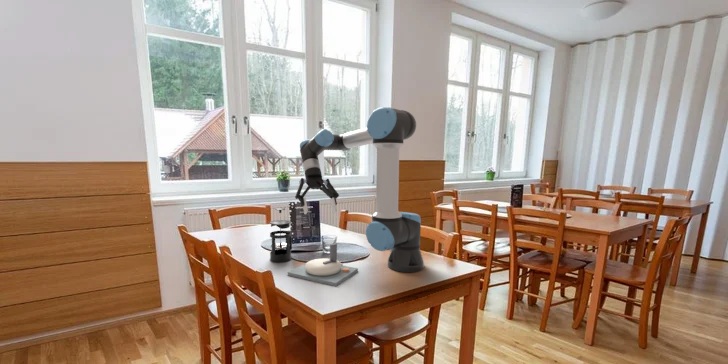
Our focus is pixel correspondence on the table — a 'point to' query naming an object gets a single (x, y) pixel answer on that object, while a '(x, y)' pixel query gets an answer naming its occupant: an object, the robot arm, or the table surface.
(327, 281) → the dial board
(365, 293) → the table surface
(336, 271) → the dial
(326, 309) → the table surface
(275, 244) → the french press
